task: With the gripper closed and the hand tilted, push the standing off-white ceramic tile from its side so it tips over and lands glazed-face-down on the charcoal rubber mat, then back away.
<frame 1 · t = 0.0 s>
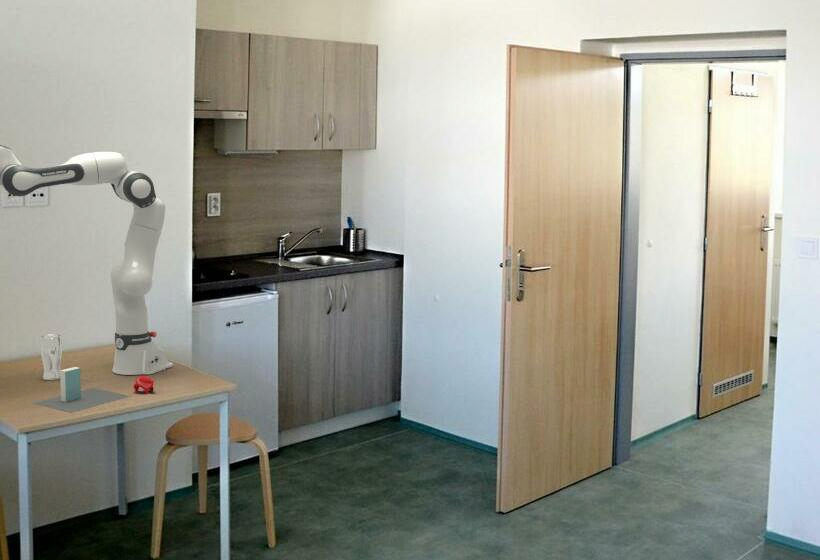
mat: (82, 401, 330), on the table
tile: (71, 399, 329), point 1 cm above the table, touching mat
beer glass: (52, 378, 358), on the table
red rounded piece: (144, 393, 341), on the table
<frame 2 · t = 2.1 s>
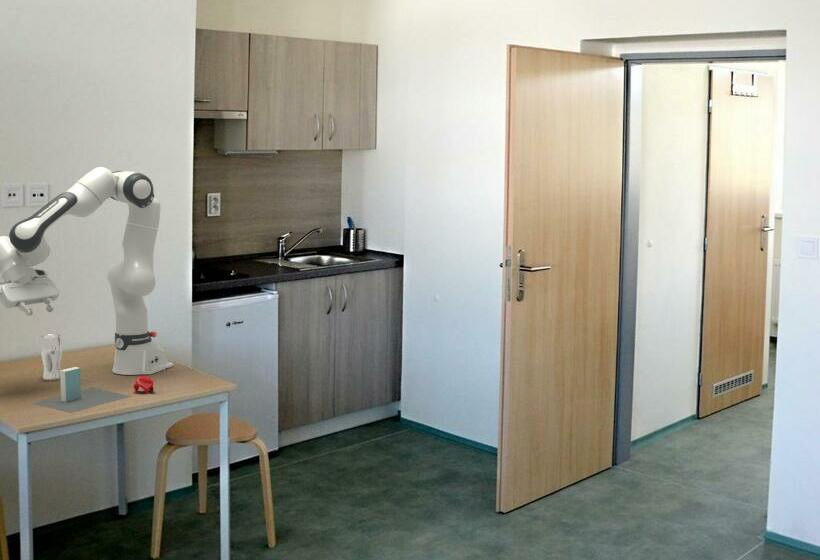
hand: (40, 312, 332), 27 cm above the table, tool tilted 45°, fingers open, 7 cm apart
nothing on the table moved.
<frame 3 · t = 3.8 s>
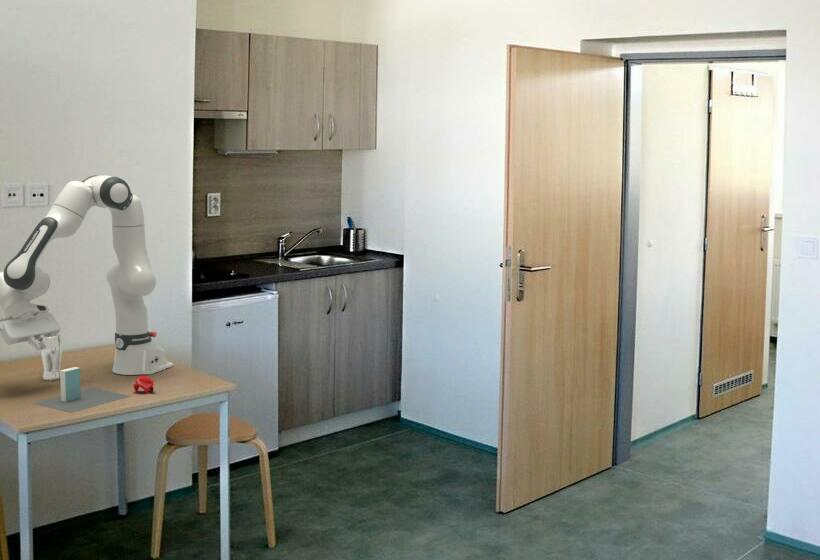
hand: (42, 348, 334), 16 cm above the table, tool tilted 45°, fingers closed
nothing on the table moved.
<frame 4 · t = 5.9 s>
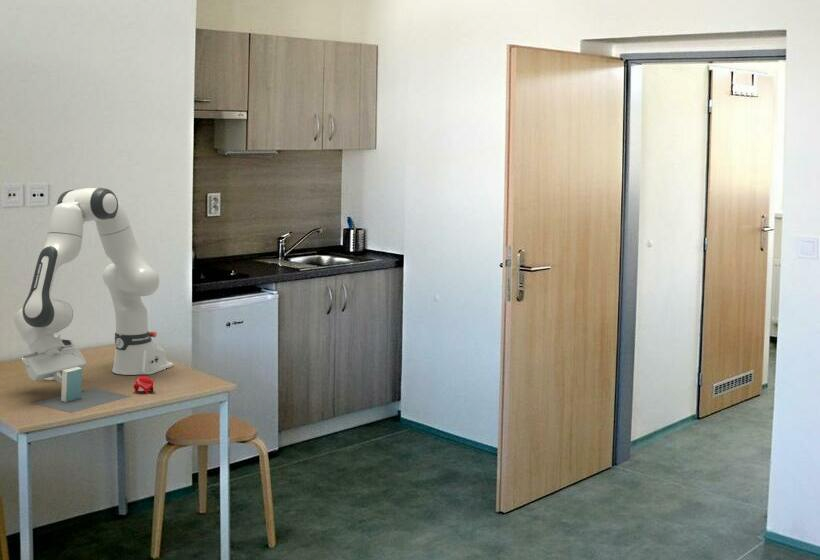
hand: (67, 384, 329), 5 cm above the table, tool tilted 45°, fingers closed
tile: (71, 399, 329), point 1 cm above the table, tilted 6°, touching mat
everything else where it was.
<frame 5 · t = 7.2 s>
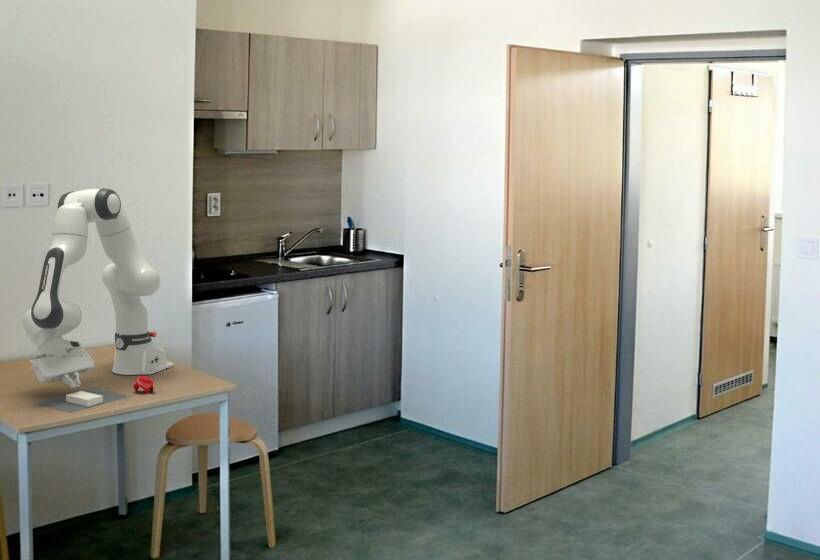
hand: (76, 386, 327), 5 cm above the table, tool tilted 45°, fingers closed
tile: (73, 396, 329), point 2 cm above the table, tilted 90°, touching mat
everything else where it was.
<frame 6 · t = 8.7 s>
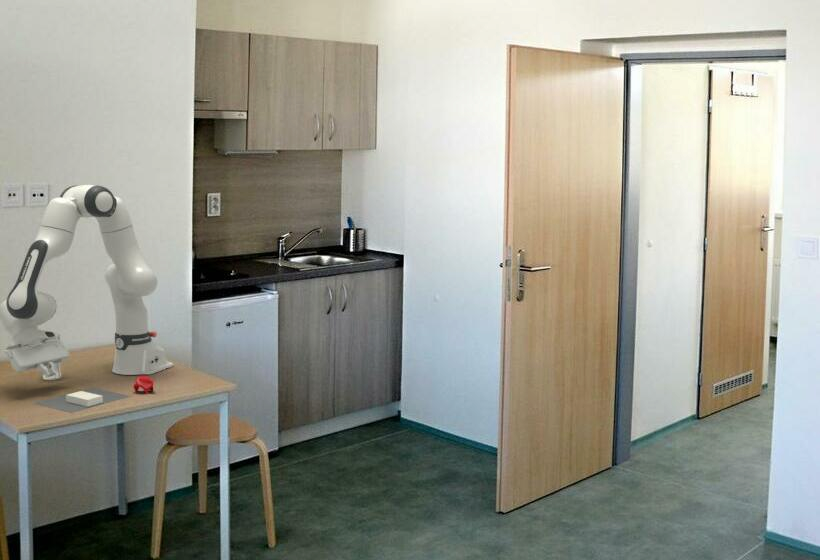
hand: (51, 375, 333), 7 cm above the table, tool tilted 45°, fingers closed
nothing on the table moved.
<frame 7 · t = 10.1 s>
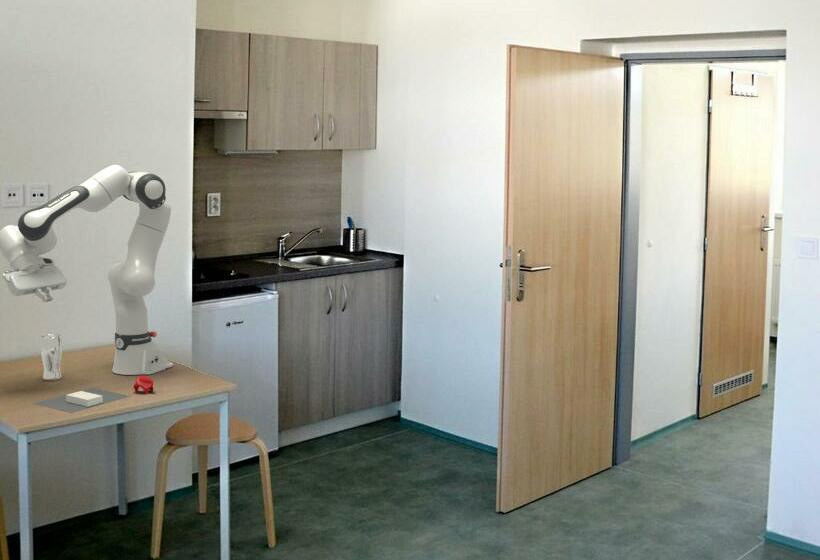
hand: (48, 300, 336), 31 cm above the table, tool tilted 45°, fingers closed
nothing on the table moved.
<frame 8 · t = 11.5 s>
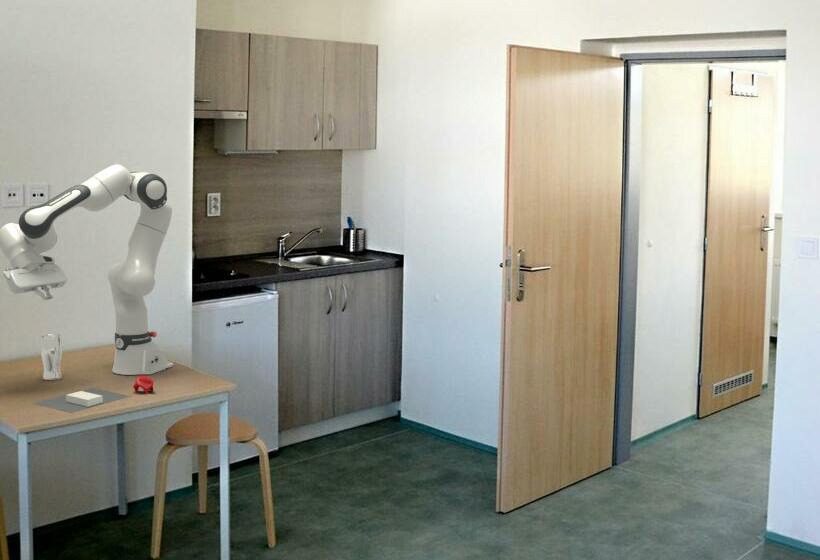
hand: (48, 298, 336), 31 cm above the table, tool tilted 45°, fingers closed
nothing on the table moved.
at the end: tile tilted 90°; tile inside the target area (3.2 cm from its centre), point 1.8 cm above the table; the gripper is holding nothing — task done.
